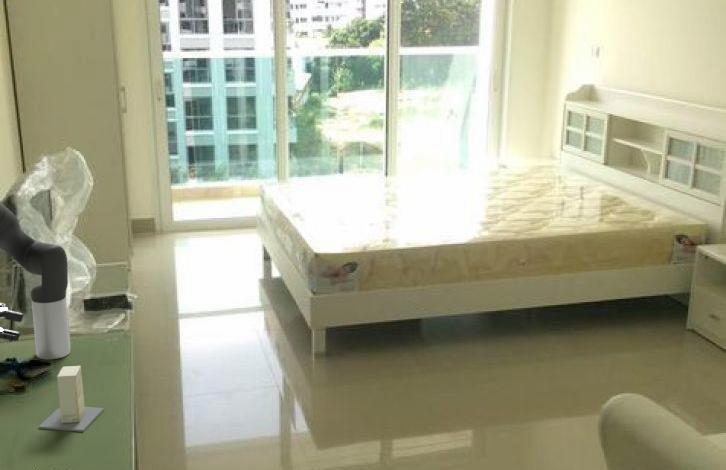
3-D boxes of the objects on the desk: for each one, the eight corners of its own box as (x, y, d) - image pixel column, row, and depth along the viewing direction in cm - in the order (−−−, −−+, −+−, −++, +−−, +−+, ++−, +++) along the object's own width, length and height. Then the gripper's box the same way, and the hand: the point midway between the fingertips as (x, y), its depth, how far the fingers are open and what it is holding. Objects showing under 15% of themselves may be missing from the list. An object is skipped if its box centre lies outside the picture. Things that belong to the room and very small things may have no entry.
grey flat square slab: (62, 406, 188) (61, 404, 188) (104, 409, 187) (103, 408, 187) (38, 428, 177) (38, 426, 177) (83, 431, 176) (83, 429, 176)
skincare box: (79, 422, 179) (76, 376, 176) (60, 423, 178) (56, 376, 175) (85, 410, 185) (81, 364, 182) (66, 411, 185) (62, 365, 182)
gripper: (-55, 314, 166) (22, 330, 174) (-44, 283, 179) (27, 299, 186) (-63, 341, 169) (13, 356, 176) (-52, 309, 181) (19, 324, 188)
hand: (20, 327), depth 181 cm, fingers open, 8 cm apart
